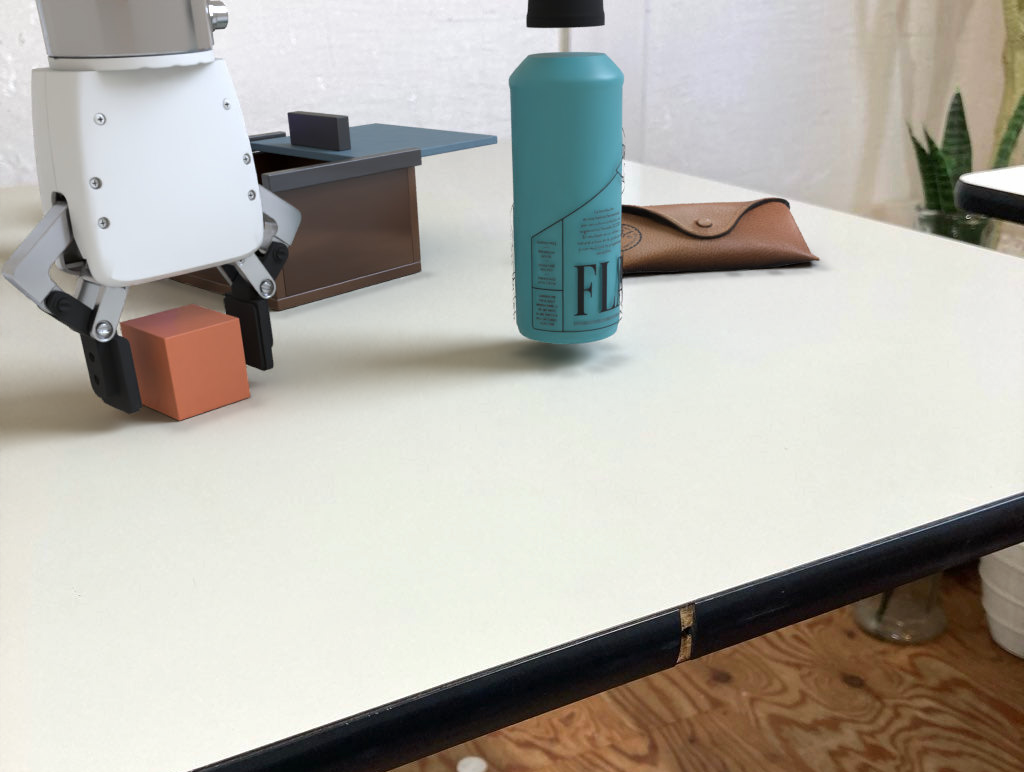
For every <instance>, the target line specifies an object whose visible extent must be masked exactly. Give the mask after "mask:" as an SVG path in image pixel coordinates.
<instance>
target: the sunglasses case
mask: <svg viewBox="0 0 1024 772" xmlns="http://www.w3.org/2000/svg"><path fill="white" fill-rule="evenodd" d="M621 224H622V225H623V228H622V227H621V230H622V234H623V235H622V234H621V255H623V269H622V275H625V274H637V273H677V272H704V271H743V270H756V269H766V268H767V269H768V268H776V267H783V266H789V265H790V266H791V265H796V264H803V263H807V262H813V261H814V262H815V261H816V262H819V261H821V259H820V257H818V256H816V255H814V254H812V251H811V249H810V248H809V245H808V243H807V241H806V239H805V238H804V236H803V234H802V231H801V230H800V227H799V226H798V224H797V222H796V219H795V217H794V215H793V214H792V212H791V203H790V202H789V201H788V200H787V199H785V198H782V197H776V196H775V197H774V196H772V197H771V196H770V197H763V198H759V199H754V200H749V201H727V202H726V201H717V202H716V201H715V202H714V201H713V202H696V203H695V202H692V203H691V202H690V203H673V204H670V203H669V204H655V205H652V204H650V205H642V206H641V205H636V204H624V203H623V204H621ZM622 249H623V251H622ZM620 271H621V269H620Z"/></svg>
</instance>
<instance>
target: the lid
mask: <svg viewBox="0 0 1024 772" xmlns="http://www.w3.org/2000/svg"><path fill="white" fill-rule="evenodd" d="M349 119H350V118H349V116H348V115H345V114H344V115H343V114H334V113H333V114H332V113H325V112H324V113H322V112H313V111H304V110H296V111H289V112H287V121H288V130H289V135H286V137H279V138H273V139H266V140H259V141H252V142H250V145H251V149H252V150H253V151H257V152H267V153H274V154H281V155H288V156H295V157H302V158H309V159H316V160H323V161H330V162H333V161H339V160H345V159H351V158H356V157H362V156H368V155H374V154H379V153H385V152H391V151H397V150H402V149H408V148H420V149H421V158H426V157H432V156H438V155H443V154H448V153H453V152H459V151H464V150H469V149H475V148H480V147H485V146H491V145H497V144H498V135H493V134H483V133H473V132H465V131H464V132H463V131H455V130H445V129H434V128H427V127H426V128H424V127H416V126H407V125H398V124H389V123H388V124H387V123H378V122H374V123H367V124H362V125H355V126H350V122H349V121H350V120H349Z"/></svg>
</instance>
